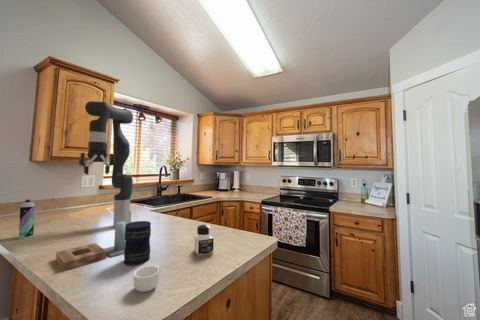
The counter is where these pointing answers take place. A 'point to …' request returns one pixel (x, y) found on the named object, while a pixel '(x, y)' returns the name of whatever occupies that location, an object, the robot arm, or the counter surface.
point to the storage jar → (137, 242)
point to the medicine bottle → (203, 240)
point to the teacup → (146, 278)
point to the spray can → (26, 219)
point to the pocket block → (80, 256)
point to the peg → (119, 236)
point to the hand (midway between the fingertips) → (97, 174)
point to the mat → (113, 252)
